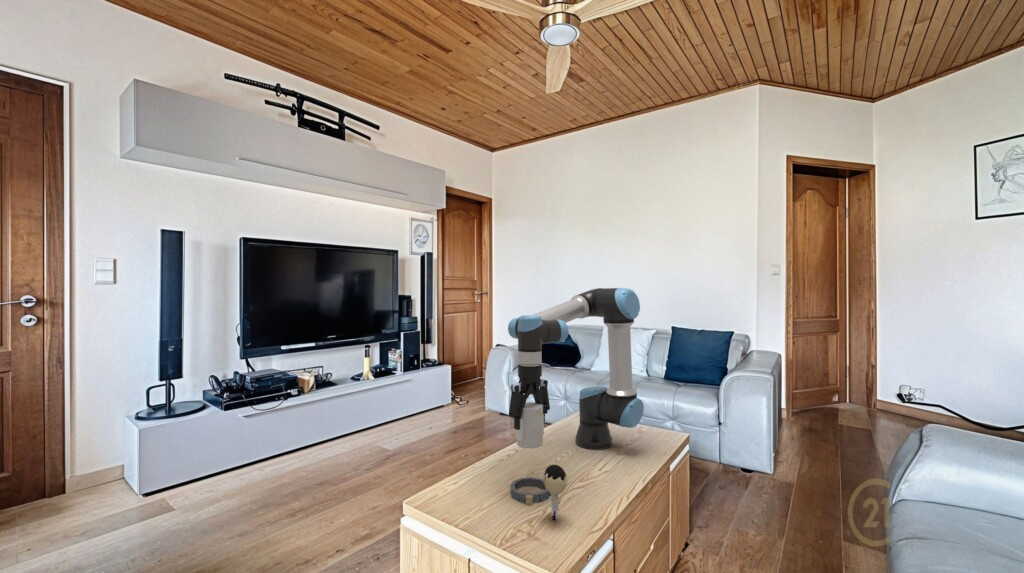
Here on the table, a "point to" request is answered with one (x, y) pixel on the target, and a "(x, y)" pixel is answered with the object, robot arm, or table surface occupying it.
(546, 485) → the toy
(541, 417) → the grey cylinder
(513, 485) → the collar
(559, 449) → the table surface
